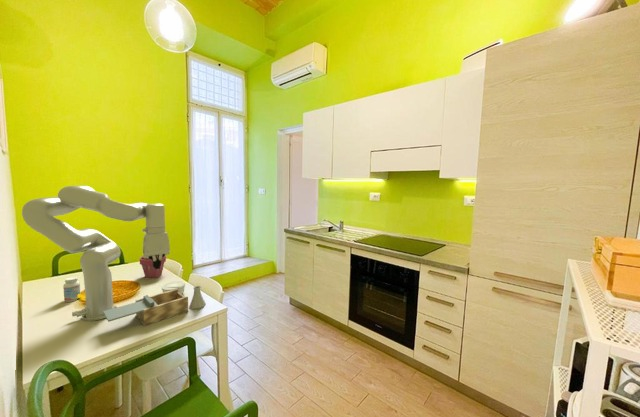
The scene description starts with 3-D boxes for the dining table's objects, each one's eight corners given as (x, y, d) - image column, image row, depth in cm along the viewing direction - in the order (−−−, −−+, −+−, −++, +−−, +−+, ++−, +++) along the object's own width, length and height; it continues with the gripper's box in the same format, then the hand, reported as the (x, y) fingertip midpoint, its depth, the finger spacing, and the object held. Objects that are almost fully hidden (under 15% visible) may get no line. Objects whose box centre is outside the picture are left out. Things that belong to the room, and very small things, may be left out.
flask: (199, 310, 125) (198, 290, 124) (186, 308, 127) (185, 289, 126) (208, 303, 132) (208, 285, 131) (195, 301, 134) (195, 283, 133)
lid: (108, 321, 102) (108, 315, 102) (103, 312, 109) (102, 306, 109) (158, 306, 115) (158, 301, 115) (151, 299, 122) (150, 293, 122)
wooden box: (144, 326, 111) (144, 310, 110) (136, 315, 119) (135, 300, 119) (188, 311, 124) (188, 296, 123) (177, 302, 133) (177, 288, 132)
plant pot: (170, 271, 175) (170, 253, 174) (159, 279, 161) (158, 259, 160) (148, 271, 174) (148, 253, 173) (135, 279, 160) (134, 259, 159)
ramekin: (164, 301, 134) (163, 291, 133) (160, 293, 142) (159, 284, 142) (187, 295, 141) (187, 285, 141) (182, 288, 150) (182, 279, 149)
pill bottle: (61, 301, 130) (59, 279, 129) (75, 296, 136) (74, 275, 135) (69, 303, 129) (67, 281, 127) (83, 297, 134) (82, 277, 133)
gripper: (138, 233, 112) (140, 274, 114) (176, 229, 123) (176, 266, 125) (134, 230, 117) (135, 270, 119) (170, 227, 128) (171, 263, 130)
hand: (156, 268), depth 122 cm, fingers closed
